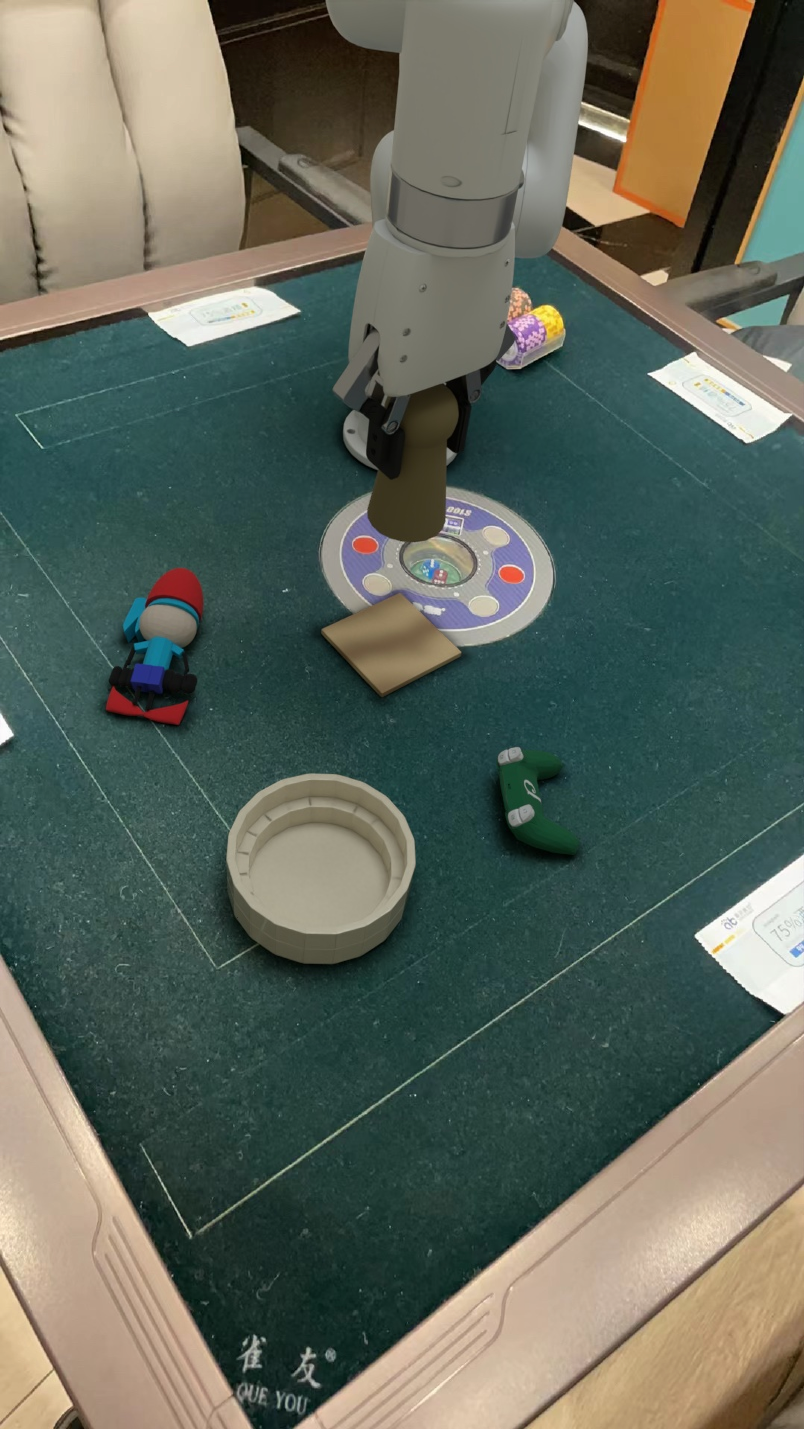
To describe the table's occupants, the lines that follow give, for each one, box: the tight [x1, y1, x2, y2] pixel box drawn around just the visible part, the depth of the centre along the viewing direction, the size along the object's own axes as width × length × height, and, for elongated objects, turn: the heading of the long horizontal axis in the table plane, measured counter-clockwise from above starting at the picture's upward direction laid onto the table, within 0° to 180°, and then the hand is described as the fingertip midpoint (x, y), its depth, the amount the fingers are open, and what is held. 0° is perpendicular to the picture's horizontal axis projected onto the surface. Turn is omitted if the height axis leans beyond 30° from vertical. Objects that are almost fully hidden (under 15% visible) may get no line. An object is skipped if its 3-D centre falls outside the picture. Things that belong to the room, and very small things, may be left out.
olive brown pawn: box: [366, 384, 459, 543], centre depth 76 cm, size 6×6×11 cm
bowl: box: [225, 773, 417, 965], centre depth 76 cm, size 13×13×5 cm
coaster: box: [320, 592, 462, 698], centre depth 94 cm, size 9×9×1 cm
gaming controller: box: [496, 746, 580, 856], centre depth 83 cm, size 9×4×6 cm
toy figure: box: [105, 567, 204, 726], centre depth 89 cm, size 8×5×15 cm
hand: (415, 453), depth 76 cm, fingers closed on olive brown pawn, 5 cm apart
